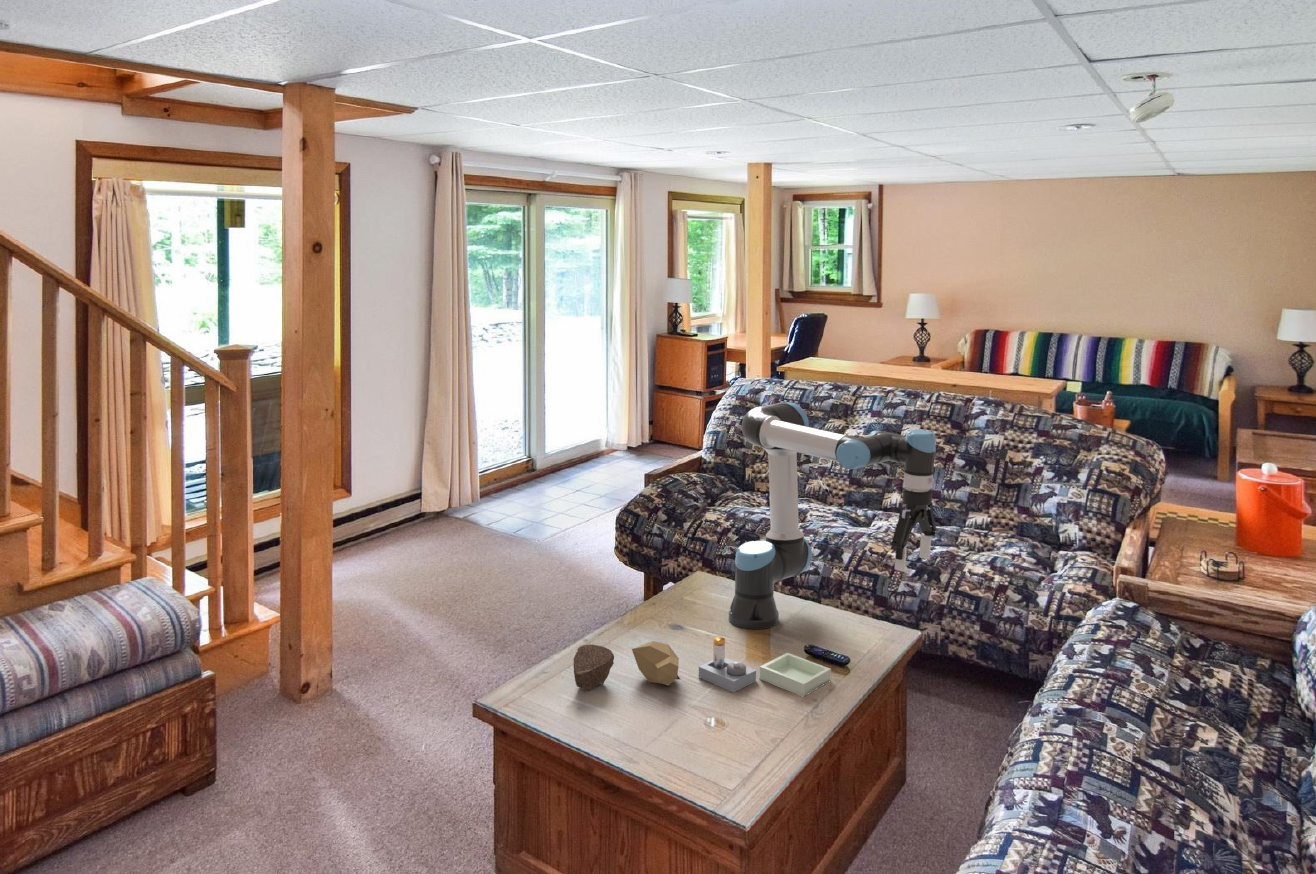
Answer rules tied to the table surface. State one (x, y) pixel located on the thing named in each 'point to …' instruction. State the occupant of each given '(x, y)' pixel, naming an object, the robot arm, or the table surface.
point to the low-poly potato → (657, 662)
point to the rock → (592, 666)
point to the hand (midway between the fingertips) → (912, 564)
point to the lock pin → (718, 652)
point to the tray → (795, 674)
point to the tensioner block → (728, 675)
